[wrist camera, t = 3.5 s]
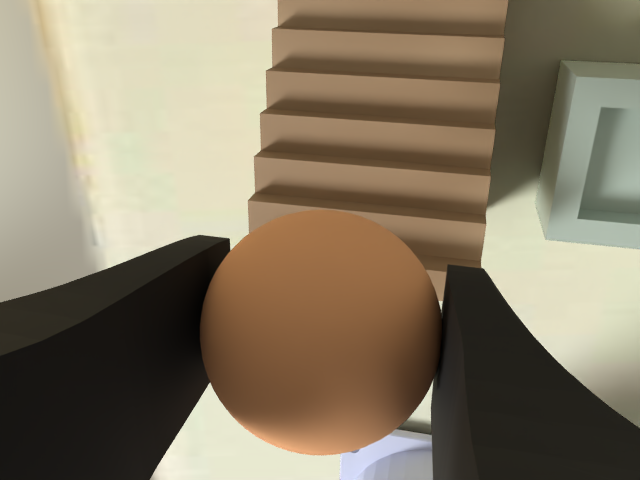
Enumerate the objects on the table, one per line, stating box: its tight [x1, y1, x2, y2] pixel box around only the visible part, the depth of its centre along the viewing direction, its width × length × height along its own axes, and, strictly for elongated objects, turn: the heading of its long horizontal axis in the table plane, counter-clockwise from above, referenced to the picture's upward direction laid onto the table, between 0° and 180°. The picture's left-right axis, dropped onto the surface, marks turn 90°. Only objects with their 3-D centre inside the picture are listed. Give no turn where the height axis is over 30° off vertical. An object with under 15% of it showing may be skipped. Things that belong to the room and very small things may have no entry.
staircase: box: [248, 0, 508, 301], centre depth 16 cm, size 8×6×6 cm
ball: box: [200, 210, 442, 455], centre depth 10 cm, size 4×4×4 cm
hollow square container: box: [535, 60, 640, 249], centre depth 16 cm, size 4×4×3 cm
